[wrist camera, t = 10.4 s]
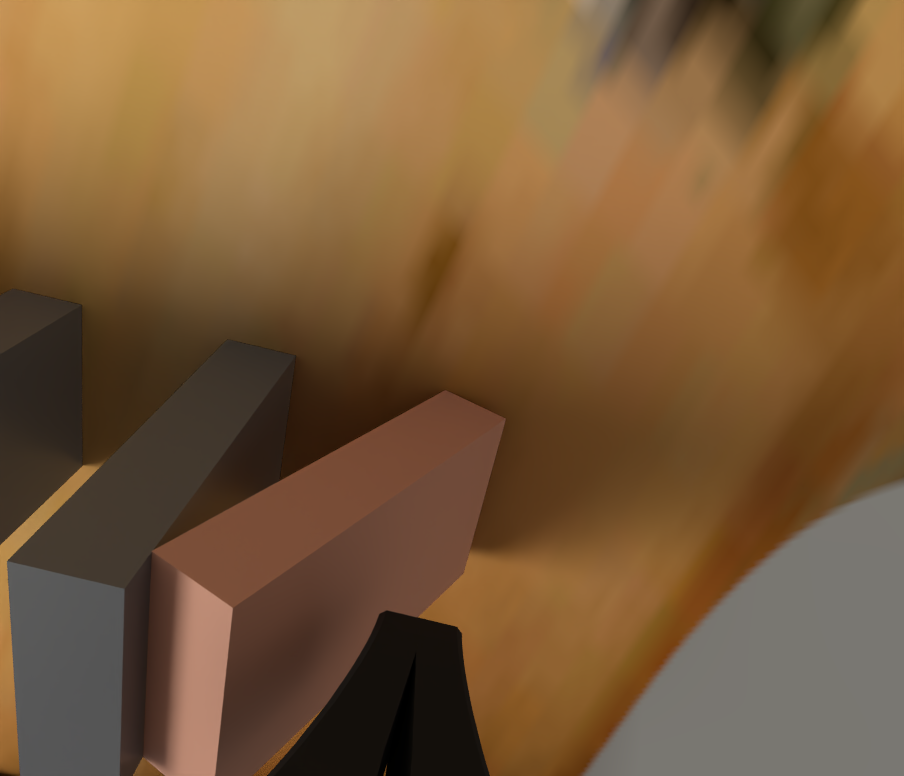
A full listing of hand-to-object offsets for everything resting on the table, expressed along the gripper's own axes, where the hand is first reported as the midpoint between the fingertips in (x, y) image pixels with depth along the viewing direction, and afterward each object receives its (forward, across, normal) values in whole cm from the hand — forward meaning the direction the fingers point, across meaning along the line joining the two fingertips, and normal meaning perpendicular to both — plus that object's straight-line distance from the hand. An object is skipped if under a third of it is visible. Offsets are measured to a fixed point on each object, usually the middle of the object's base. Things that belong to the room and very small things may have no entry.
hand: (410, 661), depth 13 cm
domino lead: (+6, 0, 0) cm, 6 cm away
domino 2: (+6, +5, 0) cm, 8 cm away
